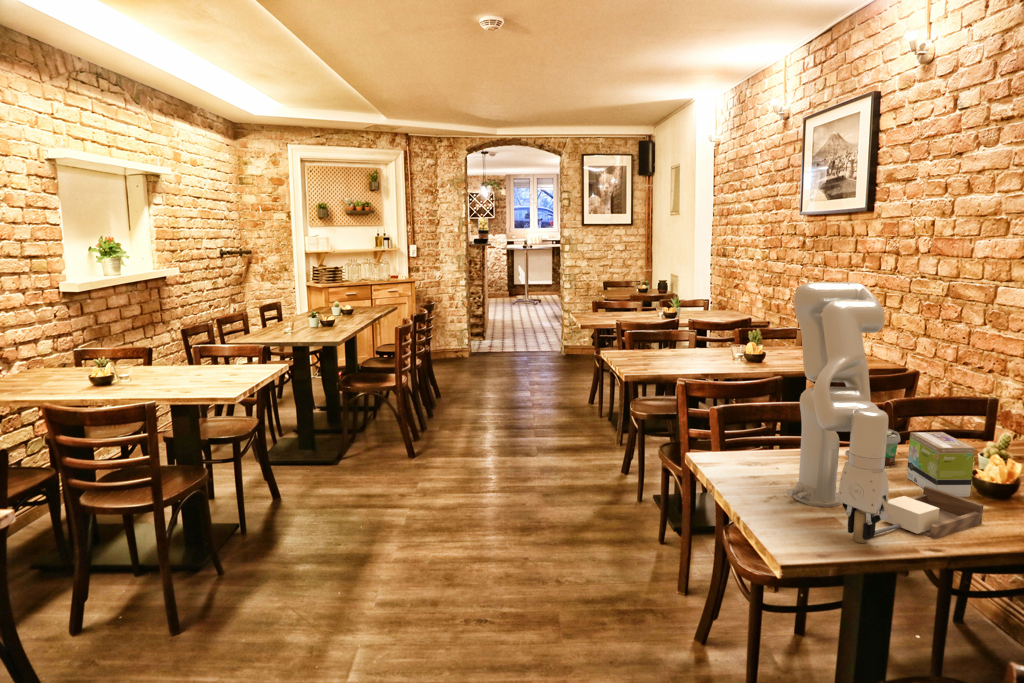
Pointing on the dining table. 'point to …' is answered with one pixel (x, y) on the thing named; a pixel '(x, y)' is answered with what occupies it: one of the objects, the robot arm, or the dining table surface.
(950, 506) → the wooden frame
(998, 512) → the dining table surface
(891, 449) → the food container
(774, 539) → the dining table surface
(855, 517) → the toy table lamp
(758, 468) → the dining table surface
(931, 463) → the tea box
